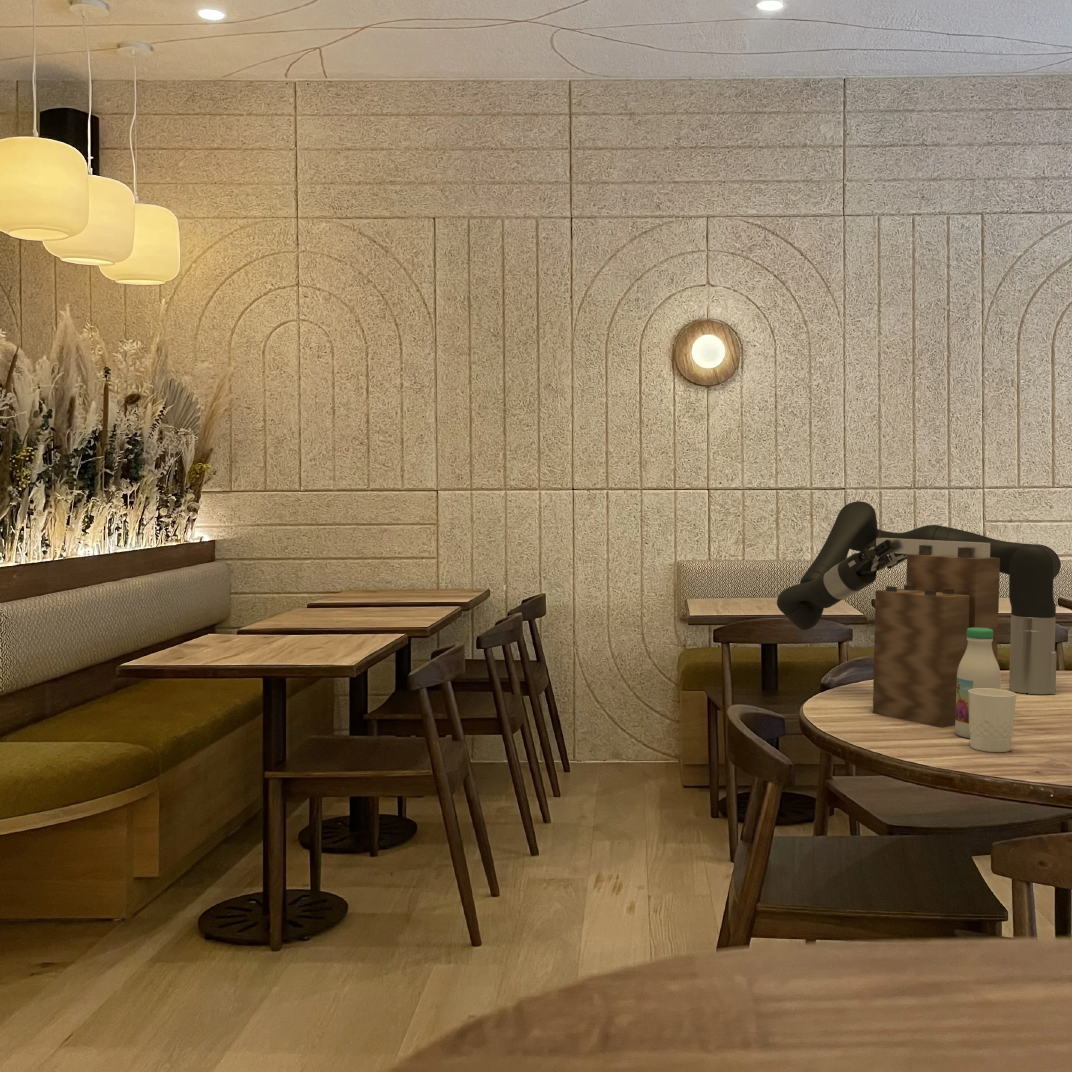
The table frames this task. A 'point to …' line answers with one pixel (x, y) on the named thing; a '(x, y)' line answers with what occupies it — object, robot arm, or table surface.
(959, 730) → the milk bottle
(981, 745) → the white cup
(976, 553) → the block
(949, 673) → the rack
